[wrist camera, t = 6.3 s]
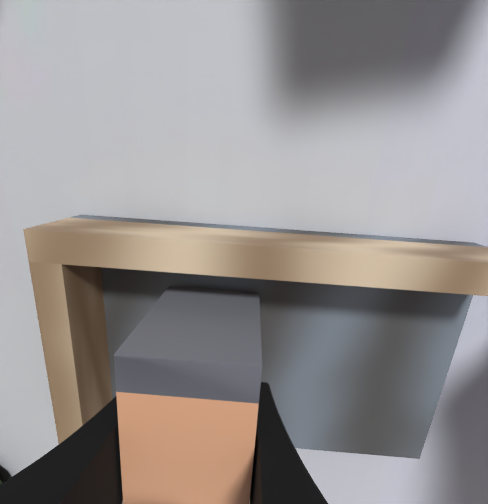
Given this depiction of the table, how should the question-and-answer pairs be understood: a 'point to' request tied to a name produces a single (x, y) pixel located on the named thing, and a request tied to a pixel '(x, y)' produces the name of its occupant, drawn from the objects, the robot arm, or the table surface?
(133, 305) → the corner arena
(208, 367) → the terracotta bar
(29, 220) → the table surface
